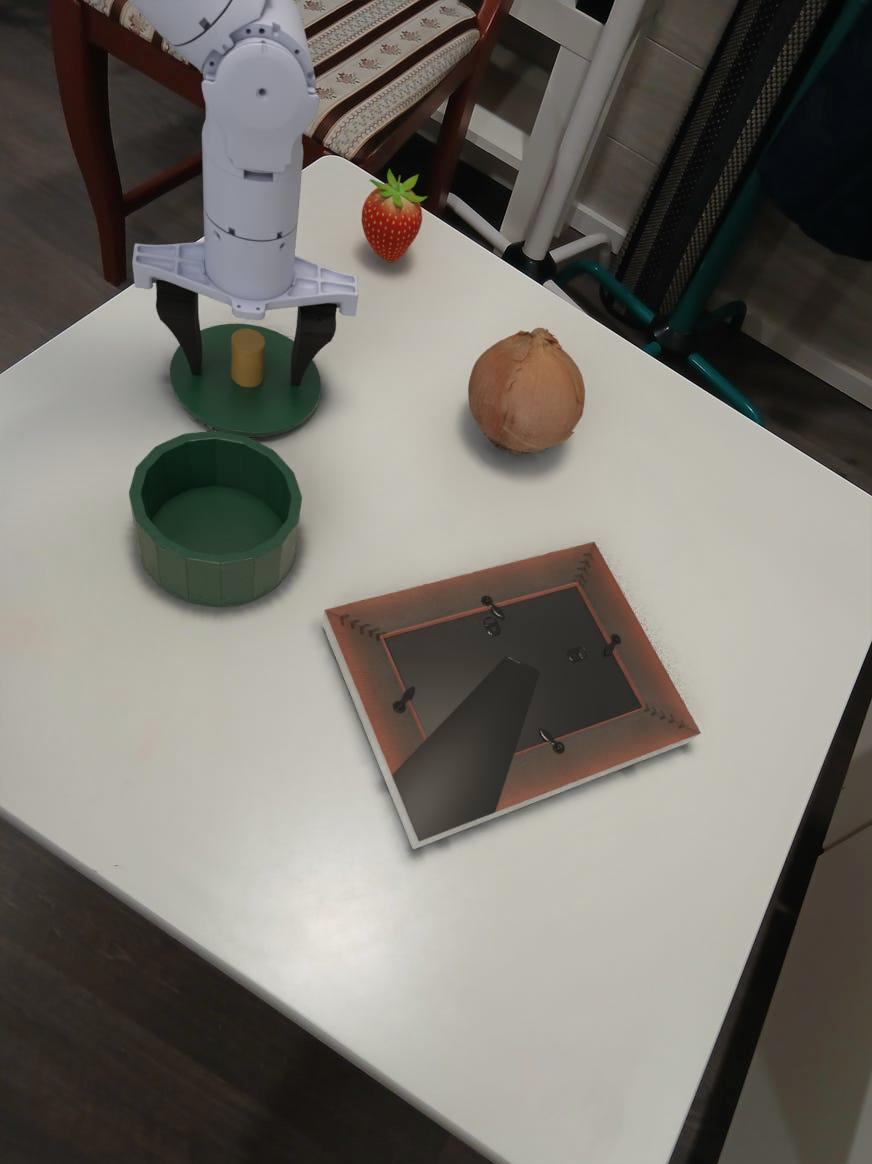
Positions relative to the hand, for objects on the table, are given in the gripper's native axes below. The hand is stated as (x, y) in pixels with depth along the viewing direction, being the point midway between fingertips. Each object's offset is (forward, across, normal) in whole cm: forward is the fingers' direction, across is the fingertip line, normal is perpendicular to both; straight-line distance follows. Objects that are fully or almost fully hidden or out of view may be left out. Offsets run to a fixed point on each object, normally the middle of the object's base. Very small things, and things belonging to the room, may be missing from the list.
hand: (246, 370), depth 64 cm
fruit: (+2, +12, +17) cm, 21 cm away
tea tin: (+2, -2, -15) cm, 15 cm away
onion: (+2, +21, -2) cm, 22 cm away
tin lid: (+1, 0, 0) cm, 1 cm away
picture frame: (+2, +18, -26) cm, 31 cm away
